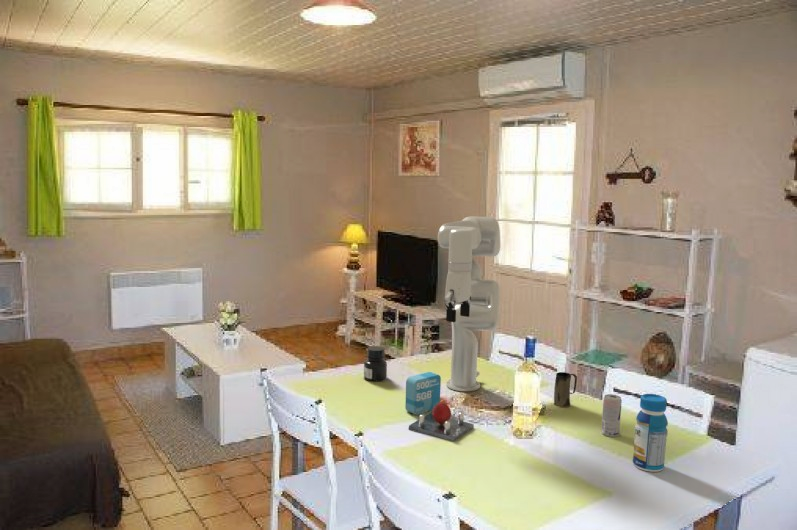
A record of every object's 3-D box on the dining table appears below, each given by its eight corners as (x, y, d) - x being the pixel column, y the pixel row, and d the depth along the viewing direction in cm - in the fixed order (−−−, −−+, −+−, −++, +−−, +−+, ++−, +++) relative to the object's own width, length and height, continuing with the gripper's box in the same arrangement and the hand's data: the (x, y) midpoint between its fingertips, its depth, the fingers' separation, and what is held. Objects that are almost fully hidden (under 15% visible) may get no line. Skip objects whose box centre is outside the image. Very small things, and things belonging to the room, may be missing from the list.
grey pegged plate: (429, 416, 215) (430, 402, 215) (473, 427, 207) (474, 413, 206) (408, 429, 205) (409, 414, 204) (454, 441, 196) (454, 426, 195)
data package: (413, 415, 216) (414, 380, 214) (404, 411, 219) (405, 377, 218) (440, 408, 224) (441, 374, 222) (431, 404, 227) (432, 370, 225)
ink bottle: (363, 374, 258) (363, 345, 256) (385, 374, 259) (386, 344, 257) (364, 382, 248) (364, 351, 246) (387, 382, 249) (388, 351, 247)
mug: (550, 404, 230) (552, 371, 228) (559, 400, 234) (561, 368, 232) (569, 410, 224) (571, 376, 222) (578, 407, 228) (580, 373, 226)
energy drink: (620, 432, 206) (622, 395, 204) (617, 438, 201) (620, 401, 200) (602, 429, 208) (605, 393, 207) (599, 435, 204) (602, 398, 202)
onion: (438, 429, 202) (438, 404, 201) (428, 423, 207) (429, 398, 206) (454, 426, 204) (454, 401, 203) (444, 420, 210) (444, 396, 208)
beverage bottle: (661, 475, 177) (667, 405, 174) (628, 467, 181) (634, 398, 178) (666, 464, 184) (672, 396, 181) (635, 457, 188) (641, 390, 186)
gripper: (461, 263, 221) (459, 312, 224) (436, 269, 207) (434, 322, 210) (481, 265, 217) (479, 315, 220) (457, 271, 203) (455, 325, 206)
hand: (457, 318), depth 215 cm, fingers open, 9 cm apart
